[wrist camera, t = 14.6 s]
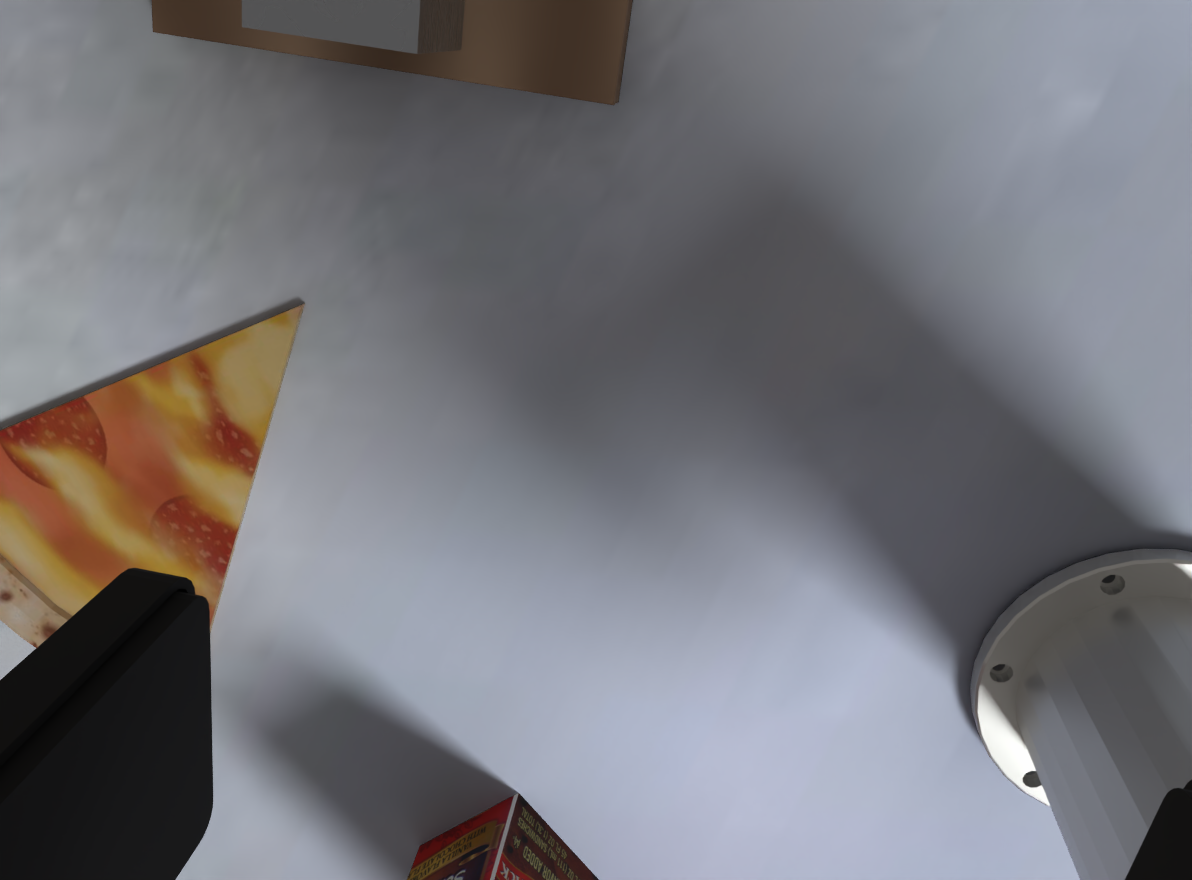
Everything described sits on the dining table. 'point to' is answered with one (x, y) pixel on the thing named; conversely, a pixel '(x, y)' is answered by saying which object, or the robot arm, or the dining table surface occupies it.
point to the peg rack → (489, 43)
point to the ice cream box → (500, 849)
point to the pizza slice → (137, 477)
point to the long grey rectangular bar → (364, 22)
